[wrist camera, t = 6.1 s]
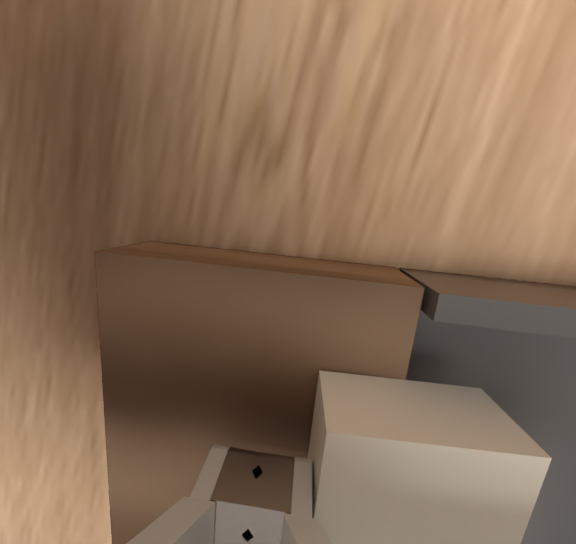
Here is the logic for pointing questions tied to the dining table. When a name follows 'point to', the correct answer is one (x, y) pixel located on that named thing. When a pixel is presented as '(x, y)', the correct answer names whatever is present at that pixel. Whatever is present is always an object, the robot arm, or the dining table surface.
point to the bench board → (229, 357)
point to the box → (510, 370)
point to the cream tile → (419, 464)
